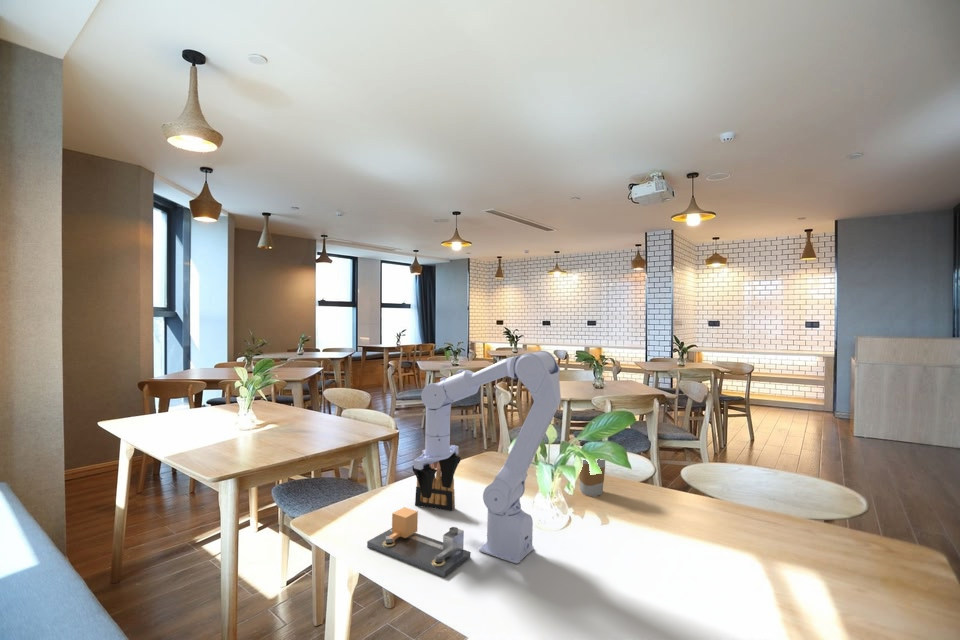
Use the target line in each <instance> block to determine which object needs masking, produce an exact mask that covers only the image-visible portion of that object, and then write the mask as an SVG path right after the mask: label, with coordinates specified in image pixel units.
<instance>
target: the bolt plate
mask: <svg viewBox="0 0 960 640" xmlns="http://www.w3.org/2000/svg"><path fill="white" fill-rule="evenodd" d="M464 532H465V531H464V530H463V529H460V528H459V527H456V526H452V527H449V531H448V532H446V533H444V534H443V535H442V541H440V540H438V539H435V538H431V537H429V536H426V535H423V534H420V533H417V532H415V533H413V534H412V535H410V536H408V537H407V538H403V537H401V536H400V537H398V538H397V539H395V540H393V542H392V543H386V536H390V535H392V527H391V528H389V529H388V530H385V531H384V532H382V533H379V535H377V536H374V537H373V538H370V539H369V540H368V541H367V543H366V544H367V545H366V547H367V548H369V549H371V548H372V550H373V551H376V552H379V553H382V554H384V555H387V556H389V557H391V558H395V559H396V558H397V560H398V561H401V560H402V561H401V562H404V563H406V562H407V563H406V564H409V565H411V566H414V567H416V568H419V569H422V570H424V571H426V572H429V573H431V574H434V575H437V576H438V577H442V578H444V579H445V578H446V577H447V576H449V575H450V574H451V573H453V572H454V571H455V570H457V569H458V568H459V567H461V566H462V565H464V563H466V562H467V561H469V559H471V551H469V550H466V549H464V545H465V544H464V538H465V533H464Z"/></svg>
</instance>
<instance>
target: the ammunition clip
mask: <svg viewBox="0 0 960 640" xmlns="http://www.w3.org/2000/svg"><path fill="white" fill-rule="evenodd" d="M430 466H431V468H432V469H436V470H437V471H436V473H435V476H434V479H433V485H432V495H431V498H425V497H422V494H421V489H420V485H419V482H418V479H417V478H416V487H415V498H414V500H415V501H414V506H415V507H421V506H423V507H422V508H427V509H435V510H442V511H449V512H452V511H453V512H454V510H455V508H456V502H455V501H456V500H455V499H456V498H455V479H454V477H453V480H452V484H451V487H450V488H447V487H443V486H442V481H441V468H440V463H439V461H437V465H436V468H435V463H432V464H430Z"/></svg>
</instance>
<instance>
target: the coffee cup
mask: <svg viewBox="0 0 960 640" xmlns="http://www.w3.org/2000/svg"><path fill="white" fill-rule="evenodd" d="M587 442H588V441H582V442H581V446H583V445H584V444H585V443H587ZM597 463H598V466H599V467H600V469H601V471H602V474H596V475H590V473H589V472H590V471H589V464H588V462H587V461H586V460H583V467H582V470H581V472H580V474H579V473H578V479H579V490H580V492H582V493H583V494H582V493H581V494H582V495H584V494H586V495H585V496H587V495H591V496H590V497H599V496H598V495H600V496H602V493H603V490H604V483H605V482H604V481H605V473H606V459H605V460H600V459H598V460H597Z"/></svg>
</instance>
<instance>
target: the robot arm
mask: <svg viewBox="0 0 960 640" xmlns="http://www.w3.org/2000/svg"><path fill="white" fill-rule="evenodd" d="M560 371H561V368H560V366H559V364H558V363H557V360H556V358H555V357H554V355H553V354H552V353H550V352H549V351H547V350H538V351H535V352H527V353H523V354H520V355H518V356H517V355H516V356H512V357H508V358H504V359H501V360H500V361H497V362H496V363H494V364H492V365H489V366H486V367H484V368H482V369H480V370H478V371H476V372H474V371H472V370H470V369H464V368H462V369H459V370H457V371H455V372H456V374H454V375H451V376H449V377H446V376H445V377H441V378H440V379H439V380H440V381H439V382H435V383H434V382H431V383H428V384H427V385H426V386H425V387H423V389H422V391H421V394H420V395H421V397H420V398H421V402H422V404H423V405H424V406H425V434H424V435H425V440H424V441H425V443H424V449H422V450H421V451H422V452H421V453H422V454H421V455H419V456H418V457H417V458H415V459H413V465H412V471H413V473H414V475H415V478H416V480H417V479H418V482H419V485H420V489H421V494H422V497H425V498H431V495H432V485H433V479H434V476H435V477H436V471H437V468H435V469H432V468H431V464H432V463H434V464H435V463H438V462H439V463H440V468H441V481H442V486H443V487H447V488H450V487H451V484H452V480H453V478H454V476H455V473H456V469H457V468H458V466H459V464H460V462H461V456H458V455H459V445H455V444H451V441H450V440H451V410H452V405H453V403H455V402H458V401H460V400H463V399H466V398H468V397H471V396H474V395H476V394H477V393H478V391H479V389H480V387H481V386H483V385H485V384H488V383H491V382H493V381H496V380H499V379H502V378H505V377H509V378H511V379H518V380H519V381H520V382H521V384H523V386H524V387H525V388H526V389H527V391H529V394H530V395H531V396H530V397H532V401H533V403H532V405H531V408H530V409H529V412H528V413H527V416H526V417H525V420H524V422H523V424H522V426H521V428H520V431H519V432H518V434H517V436H516V439H515V440H514V443H513V446H512V448H511V450H510V452H509V454H508V456H507V458H506V460H505V463H504V464H503V466H502V467H501V469H500V470H499V471H498V473H497V474H496V475H495V477H494V480H493V481H492V482H491V483H490V484H488V485H487V486H486V487H485V488H484V491H483V493H482V500H483V503H484V505H485V507H486V508H487V522H486V523H487V524H486V525H487V529H486V531H487V532H486V534H487V535H486V542H485V543H484V544H482V546H480V547H479V548H478V550H479V552H481V553H484V554H487V555H490V556H493V557H496V558H499V559H501V560H504V561H507V562H510V563H512V564H519V563H520V562H522V560H523V559H524V558H525V557H526V556H527V555H528V554H529V553H531V552H532V551H533V550H534V547H535V546H534V545H533V531H534V529H533V525H534V524H533V523H534V522H533V517H532V516H531V514H529V513H527V512H525V511H524V510H523V509H522V505H521V500H520V499H521V498H522V497H523V496H524V494H525V489H526V480H527V478H528V473H527V472H528V471H529V469H530V466H531V464H532V461H533V460H534V457H535V456H536V453H537V451H538V449H539V447H540V445H541V443H542V441H543V439H544V437H545V435H546V433H547V431H548V429H549V427H550V424H551V422H552V420H553V419H554V417H555V414H556V412H557V410H558V408H559V406H560V405H561V400H562V396H561V385H560V383H561V382H560Z"/></svg>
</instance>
